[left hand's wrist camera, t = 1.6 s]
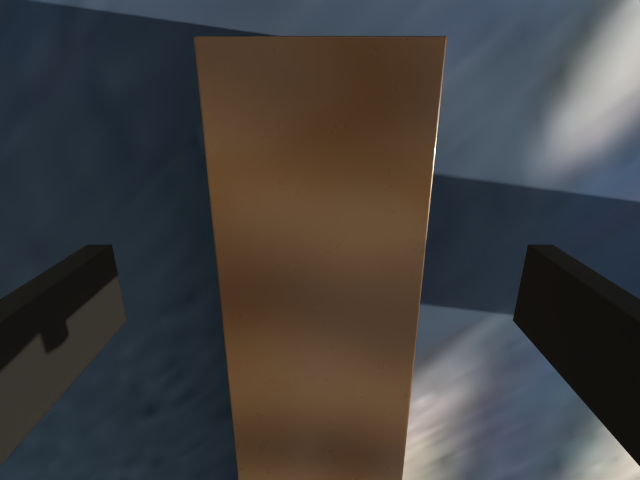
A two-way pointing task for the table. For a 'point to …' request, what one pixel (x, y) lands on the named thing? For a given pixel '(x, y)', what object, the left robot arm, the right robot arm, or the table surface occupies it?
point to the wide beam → (320, 241)
